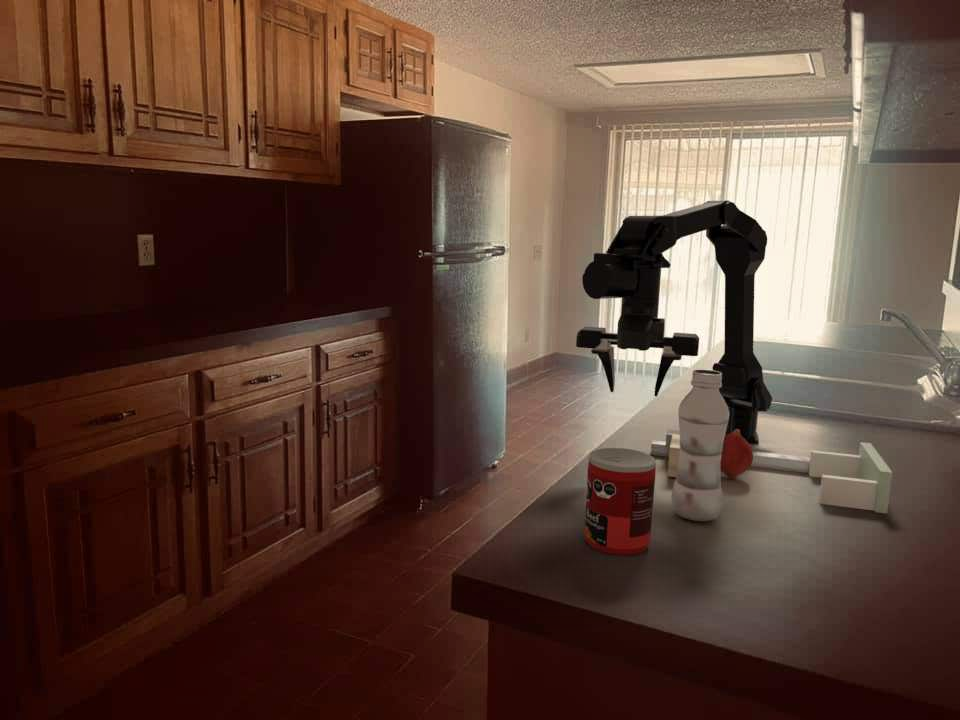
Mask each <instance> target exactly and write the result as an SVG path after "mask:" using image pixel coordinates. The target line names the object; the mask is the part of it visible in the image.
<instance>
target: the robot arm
mask: <svg viewBox="0 0 960 720" xmlns="http://www.w3.org/2000/svg"><path fill="white" fill-rule="evenodd" d="M701 232H705V236H706V238H707V239H708V240H709V242H710V243H711V244H712V245H713V246H714V254H715V261H716V262H717V265H718V266H719V268H720V269H721V271H722V273H723V274H724V349H723V350H724V351H723V352H724V353H723V354H722V356H721V358H720V359H719V361H718V362H715V363H713V365H712V370H713V371H718V372H721V373H722V380H721V383H722V387H721V388H719V392H720V394H721V395H722V397H723V399H724V400H725V402H726V404H727V406H728V410H729V420H728V424H727V429H726V433H725V436H726V435H728V434H730V433H731V432H733V431H734V430H735V429H739V430H740V435H741V436H742V437H743V438H744V439H745V440H746V441H747V442H748V443H753V444H759V442H760V441H759V434H758V432H757V428H758V420H759V419H758V415H759V412H767V411H768V410H769V409H771V406H772V402H773V397H772V395H771V393H770V391H769V389H768V387H767V386H766V384H765V382H764V375H763V372H764V371H763V367H762V365H761V364H760V361H759V360H758V358H757V357H756V354H755V353H754V327H755V325H754V324H755V277H756V276H755V275H756V272H757V271H758V269H759V268H760V266H761V265H762V263H763V262H764V260H765V258H766V257H765V256H766V249H767V245H768V236H767V231H766V230H764V229H763V227H762V226H761V225H760V223H759V222H758V221H757V220H756V219H755V218H753V217H751V216H750V215H749V214H747V213H745V212H744V211H742V210H740V209H739V208H738V206H737V205H736V204H735V202H733V201H731V200H729V199H728V200H707V201H706V202H703V203H702V204H701V203H700V204H698V205H694V206H691V207H687V208H684V209H680V210H676V211H674V212H669V213H667V214H662V215H629V216H627V217H625V218H624V219H623V220H622V224H621V227H620V228H619V229H618V230H617V232H616V234H615V236H614V239H612V241H611V243H610V245H609V247H608V248H607V250H606V251H605V252H603V253H602V252H594V254H593V261H591V262H589V264H588V265H587V266H586V267H585V269H584V273H583V274H582V288H583V290H584V292H585V293H586V295H587V296H588V297H589V298H592V299H593V300H603V299H605V300H606V299H621V308H620V310H621V311H620V316H619V318H618V321H617V330H616V333H614V332H607V331H606V329H607V328H606V327H600V326H584V327H583V328H581V329H580V330H579V331H577V334H576V342H575V348H576V347H577V348H582V349H591V350H590V351H591V354H593V355H594V354H595V355H597V357H598V358H599V359H600V362H601V364H602V366H603V370H604V372H605V376H606V379H607V383H608V387H609V391H610V393H614V391H615V383H616V380H615V378H616V377H615V374H616V373H615V346H616V347H617V348H619V349H621V350H627V349H629V350H630V349H631V350H638V351H641V352H646V351H649V350H650V348H654V349H663V352H662V354H661V357H660V363H659V367H658V373H657V376H656V381H655V385H654V397H658V395H659V393H660V389H662V385H663V383H664V380H665V378H666V375H667V372H668V371H669V370H670V367H672V366H671V365H673V363H674V361H681V360H682V357H683V356H687V357H699V356H698V355H699V347H700V346H699V345H700V337H699V335H697V333H687V332H673V334H672V337H671V336H665V326H666V325H665V323H666V322H665V321H666V319H665V318H663V317H661V318H659V306H660V305H659V303H660V288H661V277H662V276H661V275H662V269H670V268H671V263H670V262H669V260H667V259H666V258H665V257H664V255H663V253H665V252H666V251H668V250H670V249H671V248H674V246H675V245H676V244H677V241H678V240H680V239H682V238H684V237H688V236H691V235H693V234H698V233H701ZM612 345H613V346H612ZM614 345H615V346H614Z"/></svg>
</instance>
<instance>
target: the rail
mask: <svg viewBox="0 0 960 720" xmlns="http://www.w3.org/2000/svg"><path fill="white" fill-rule="evenodd" d="M651 441H652V442H651V446H650V456H656V457H657V456H659V457H666V458H669V453H670V449H666V448H665V447H666V440H664V441H663V440H658V439H657V440H656V439H655V440H654V439H652V440H651ZM752 451H753V461H752V464H751V465H750V467H749V468H759V469H760V468H761V469H769V470H778V471H786V472H794V473H801V474H802V473H803V474H808V473H809V465H810V457H808V456H801V455H792V454H782V453H773V452H763V451H755V450H752Z"/></svg>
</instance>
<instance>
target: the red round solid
mask: <svg viewBox="0 0 960 720" xmlns="http://www.w3.org/2000/svg"><path fill="white" fill-rule="evenodd" d="M753 451H754V450H753V448H752V446H751V444H750V442H747V441H746V440H745V439H744V438H743V437H742V436H741V435H740V430H739V429H735V430H734V431H733V432H731V433H730V434H728V435H726V436H725V437H724V441H723V448H722V453H721V473H724V475H726V476H727V477H728V478H729V479H735V478H737V477H738V476H740V475H742V474H744V473H745V472H746V471H747V470H749V468H751V467H750V465H751V464H752V461H753Z"/></svg>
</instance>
